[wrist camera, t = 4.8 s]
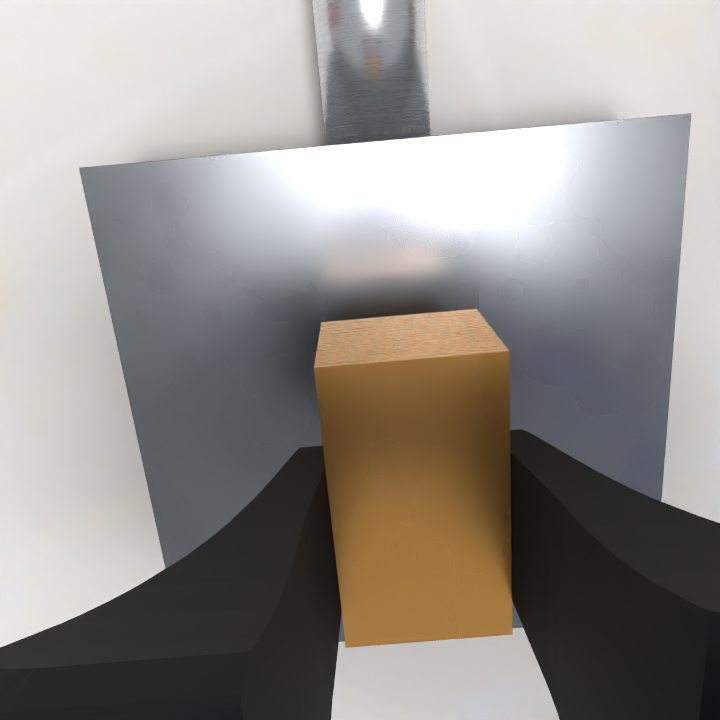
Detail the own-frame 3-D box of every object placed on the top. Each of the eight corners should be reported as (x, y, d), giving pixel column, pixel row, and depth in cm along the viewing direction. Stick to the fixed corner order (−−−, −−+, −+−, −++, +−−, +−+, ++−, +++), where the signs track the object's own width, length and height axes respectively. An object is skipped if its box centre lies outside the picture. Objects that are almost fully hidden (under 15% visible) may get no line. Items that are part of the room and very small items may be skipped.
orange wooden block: (452, 455, 17) (512, 634, 11) (347, 464, 17) (345, 648, 11) (445, 268, 15) (509, 350, 9) (328, 278, 15) (313, 367, 9)
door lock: (600, 536, 19) (652, 617, 16) (212, 568, 20) (183, 653, 16) (631, -176, 14) (721, -278, 10) (82, -123, 14) (-2, -207, 11)
